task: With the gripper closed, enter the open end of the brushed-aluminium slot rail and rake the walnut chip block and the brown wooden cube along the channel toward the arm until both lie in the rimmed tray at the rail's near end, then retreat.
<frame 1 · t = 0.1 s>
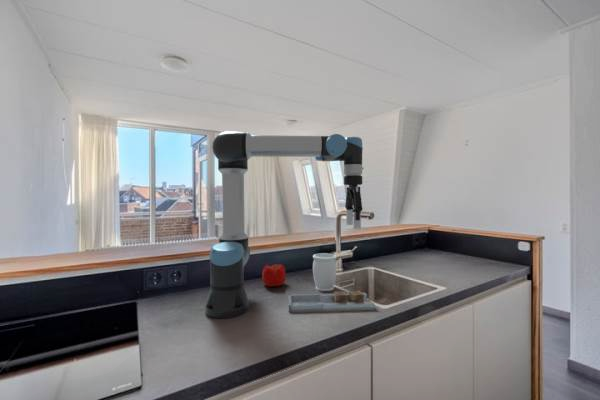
hand: (353, 226, 116), 28 cm above the worktop, fingers open, 13 cm apart
tomato: (274, 285, 127), on the worktop
brown wooden cube: (356, 303, 103), point 1 cm above the worktop, touching slot rail
jar: (324, 290, 121), on the worktop
slot rail: (329, 307, 102), on the worktop
chip a: (340, 304, 102), point 1 cm above the worktop, touching slot rail
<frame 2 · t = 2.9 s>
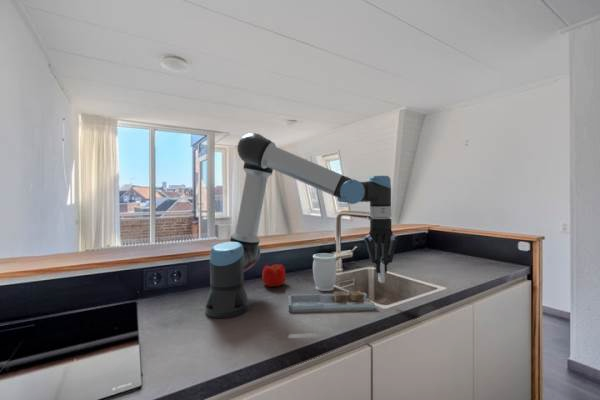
hand: (381, 281, 103), 9 cm above the worktop, fingers closed
nothing on the worktop moved.
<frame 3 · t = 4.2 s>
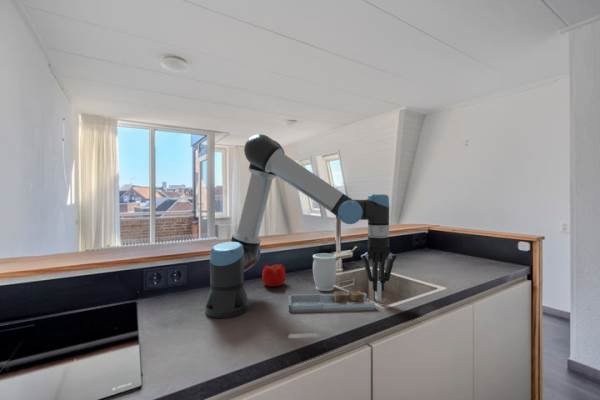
hand: (378, 299, 103), 2 cm above the worktop, fingers closed
nothing on the worktop moved.
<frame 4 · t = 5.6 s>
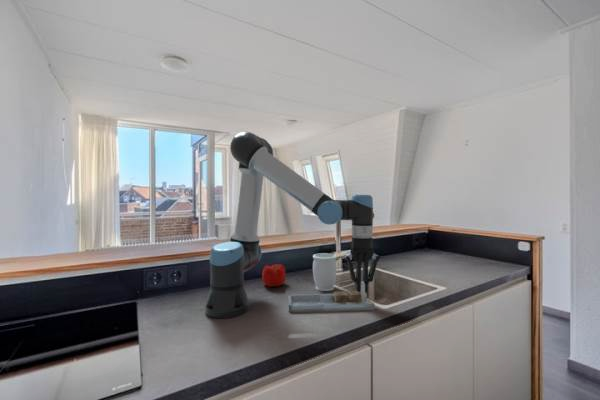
hand: (361, 300, 103), 2 cm above the worktop, fingers closed
brown wooden cube: (354, 303, 103), point 1 cm above the worktop, touching gripper, slot rail
everything else where it was.
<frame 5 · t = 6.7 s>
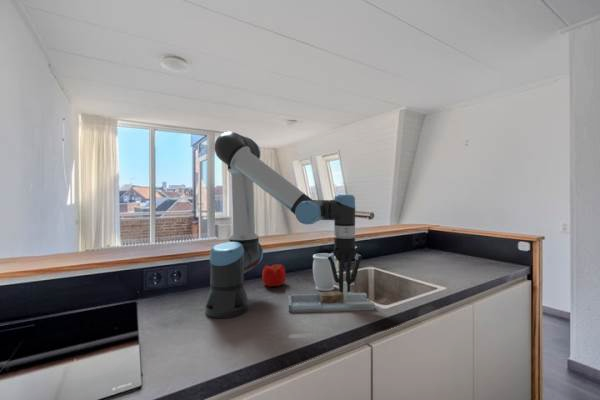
hand: (344, 300, 102), 2 cm above the worktop, fingers closed
brown wooden cube: (337, 303, 102), point 1 cm above the worktop, touching chip a, gripper
chip a: (326, 304, 102), point 1 cm above the worktop, touching brown wooden cube, slot rail
everything else where it was.
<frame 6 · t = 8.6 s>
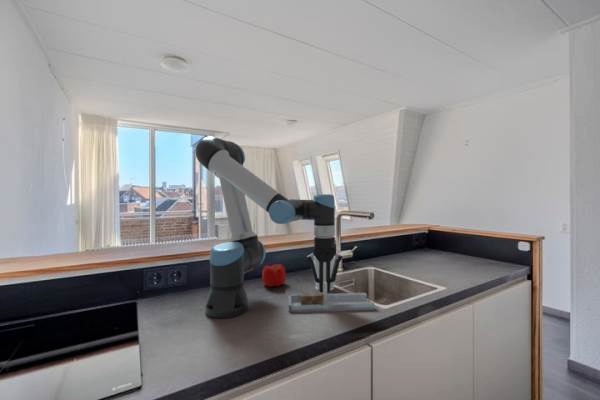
hand: (324, 300, 102), 2 cm above the worktop, fingers closed
brown wooden cube: (317, 304, 102), point 1 cm above the worktop, touching chip a, gripper
chip a: (306, 305, 101), point 1 cm above the worktop, touching brown wooden cube
everything else where it was.
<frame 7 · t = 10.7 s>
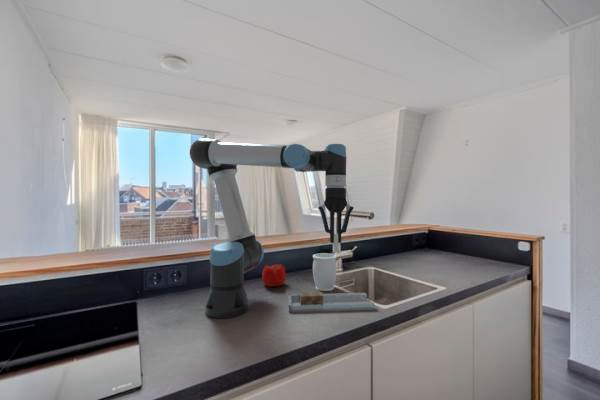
hand: (335, 251, 102), 20 cm above the worktop, fingers closed
brown wooden cube: (316, 304, 102), point 1 cm above the worktop, touching chip a, slot rail
chip a: (306, 305, 101), point 1 cm above the worktop, touching brown wooden cube, slot rail
everything else where it was.
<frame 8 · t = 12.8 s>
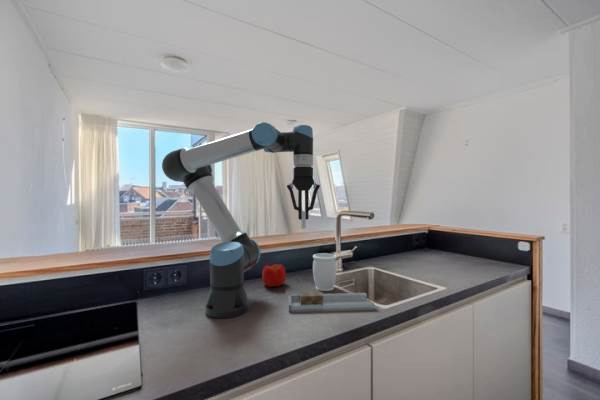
hand: (303, 228, 107), 28 cm above the worktop, fingers closed
nothing on the worktop moved.
at the end: chip a inside the target area (0.6 cm from its centre), point 1.0 cm above the worktop; brown wooden cube inside the target area (3.4 cm from its centre), point 1.0 cm above the worktop; chip a touching brown wooden cube, slot rail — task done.
